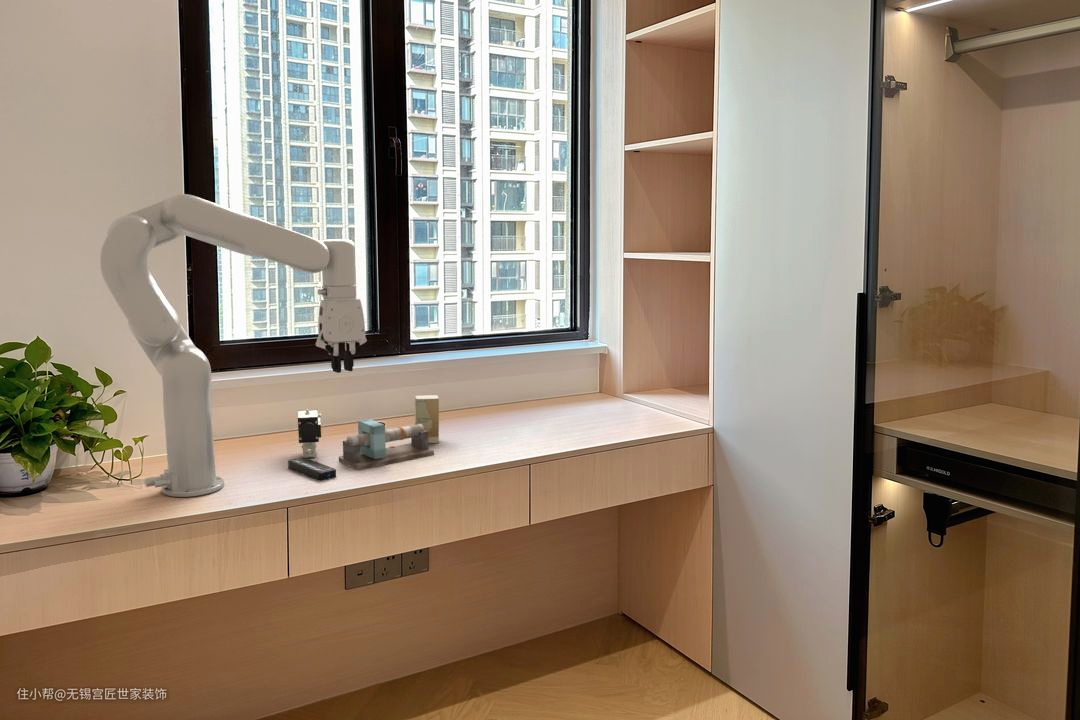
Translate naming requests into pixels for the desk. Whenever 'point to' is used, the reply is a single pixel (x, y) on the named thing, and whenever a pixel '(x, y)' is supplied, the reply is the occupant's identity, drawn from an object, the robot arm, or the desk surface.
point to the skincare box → (428, 415)
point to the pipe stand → (393, 453)
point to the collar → (373, 438)
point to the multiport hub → (312, 469)
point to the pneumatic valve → (309, 431)
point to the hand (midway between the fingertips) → (342, 370)
